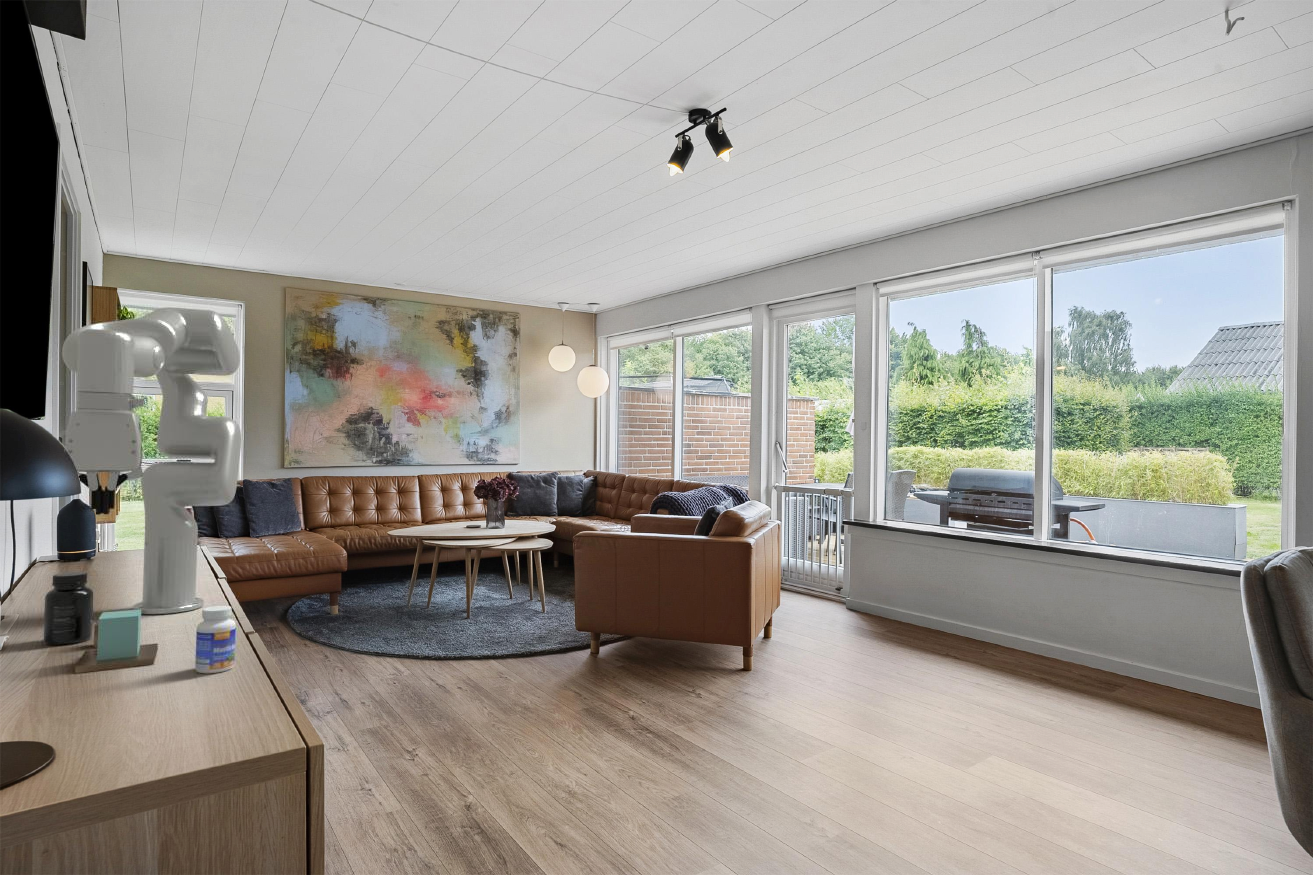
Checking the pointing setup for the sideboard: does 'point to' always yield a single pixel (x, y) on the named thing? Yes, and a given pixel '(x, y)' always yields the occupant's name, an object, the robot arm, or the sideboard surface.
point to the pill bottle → (215, 640)
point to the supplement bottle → (68, 610)
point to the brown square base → (116, 660)
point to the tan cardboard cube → (96, 635)
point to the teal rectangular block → (119, 634)
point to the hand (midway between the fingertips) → (102, 513)
